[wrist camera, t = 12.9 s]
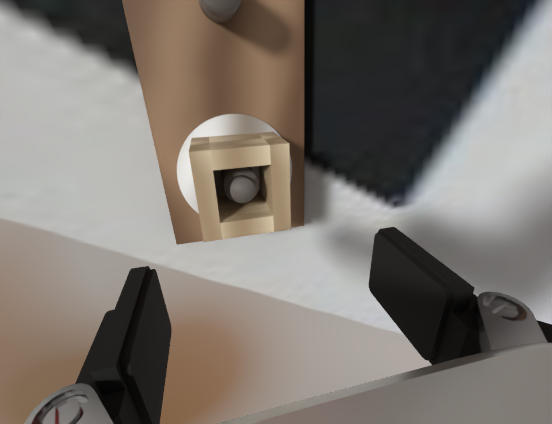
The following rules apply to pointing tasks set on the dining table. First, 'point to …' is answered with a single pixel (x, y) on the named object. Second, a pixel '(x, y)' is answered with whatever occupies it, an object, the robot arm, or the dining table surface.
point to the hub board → (219, 90)
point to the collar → (237, 154)
